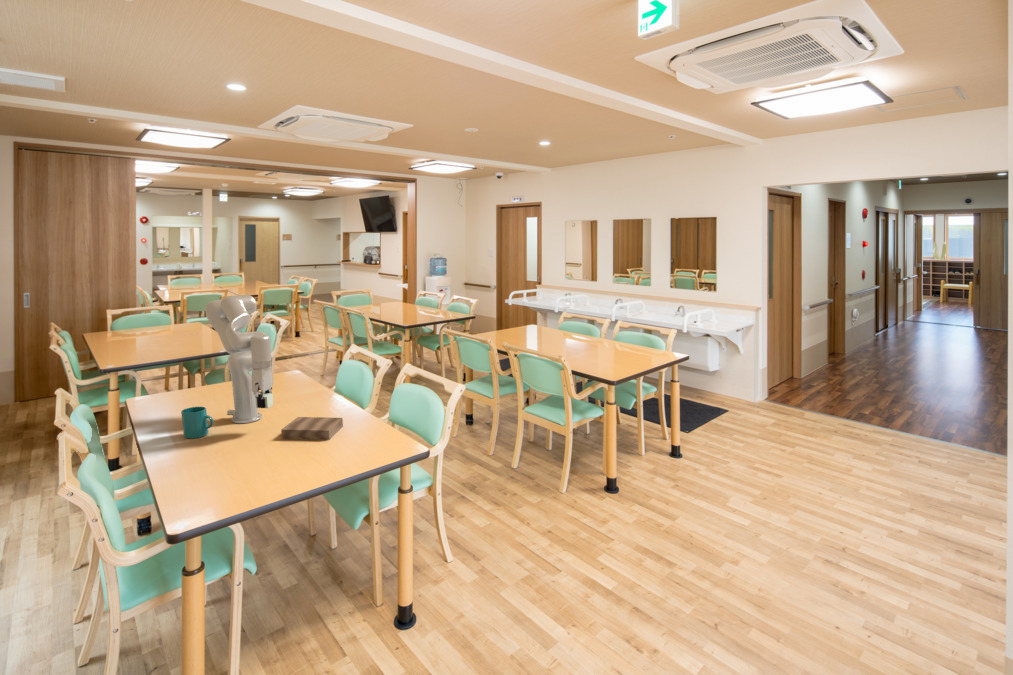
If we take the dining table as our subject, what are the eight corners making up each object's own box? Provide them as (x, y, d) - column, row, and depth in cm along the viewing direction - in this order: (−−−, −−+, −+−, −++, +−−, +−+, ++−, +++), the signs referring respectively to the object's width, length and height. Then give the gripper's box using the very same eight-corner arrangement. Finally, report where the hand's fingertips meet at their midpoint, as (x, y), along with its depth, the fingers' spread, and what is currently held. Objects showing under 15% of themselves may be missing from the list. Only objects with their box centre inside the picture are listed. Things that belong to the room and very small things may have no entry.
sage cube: (256, 407, 225) (255, 396, 224) (262, 404, 230) (261, 393, 229) (267, 408, 225) (267, 397, 224) (273, 404, 230) (272, 393, 229)
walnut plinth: (281, 438, 221) (281, 429, 220) (298, 425, 236) (297, 416, 236) (329, 439, 220) (328, 430, 219) (342, 426, 235) (342, 417, 235)
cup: (208, 439, 220) (206, 413, 218) (179, 439, 220) (176, 413, 218) (220, 431, 229) (217, 406, 227) (191, 431, 229) (189, 406, 226)
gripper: (263, 358, 232) (265, 398, 236) (242, 369, 216) (245, 411, 219) (280, 359, 232) (282, 399, 236) (260, 369, 215) (263, 412, 219)
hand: (264, 405), depth 227 cm, fingers closed on sage cube, 5 cm apart
